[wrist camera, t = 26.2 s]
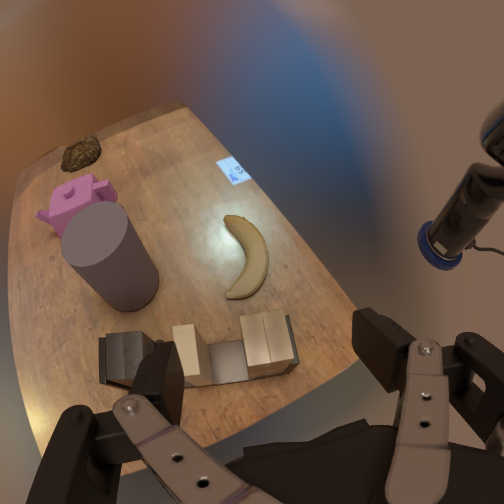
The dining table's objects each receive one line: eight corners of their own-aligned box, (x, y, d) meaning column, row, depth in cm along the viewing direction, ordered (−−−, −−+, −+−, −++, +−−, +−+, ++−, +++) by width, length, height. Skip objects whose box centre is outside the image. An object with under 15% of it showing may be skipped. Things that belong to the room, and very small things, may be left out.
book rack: (281, 334, 41) (291, 305, 30) (289, 373, 37) (304, 357, 27) (125, 353, 38) (87, 330, 28) (127, 391, 35) (87, 379, 25)
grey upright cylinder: (110, 320, 41) (61, 278, 28) (101, 269, 46) (61, 218, 33) (166, 299, 43) (133, 248, 31) (151, 249, 48) (122, 191, 36)
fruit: (263, 220, 52) (264, 209, 49) (272, 298, 44) (273, 289, 41) (224, 223, 52) (222, 211, 49) (225, 300, 43) (223, 291, 41)
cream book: (208, 346, 39) (193, 323, 29) (213, 384, 36) (200, 374, 26) (191, 348, 38) (172, 326, 29) (196, 386, 35) (177, 376, 26)
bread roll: (100, 137, 69) (95, 124, 65) (102, 159, 63) (96, 145, 59) (63, 155, 66) (57, 142, 62) (61, 179, 60) (53, 166, 56)
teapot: (51, 254, 48) (25, 225, 39) (54, 217, 53) (33, 188, 44) (124, 227, 51) (105, 191, 42) (121, 191, 56) (106, 156, 48)
